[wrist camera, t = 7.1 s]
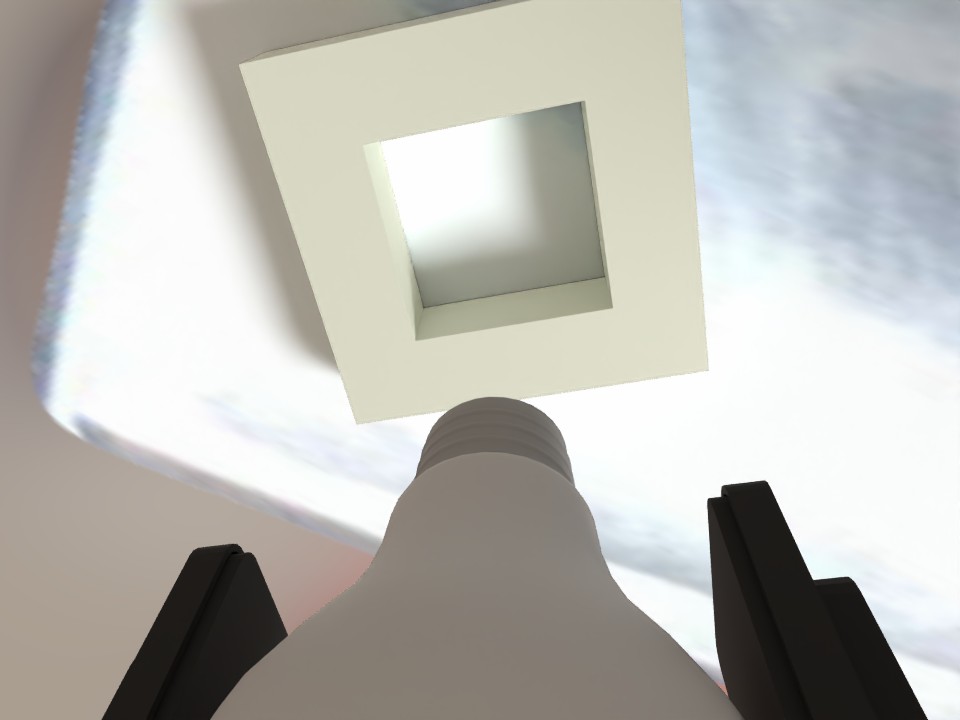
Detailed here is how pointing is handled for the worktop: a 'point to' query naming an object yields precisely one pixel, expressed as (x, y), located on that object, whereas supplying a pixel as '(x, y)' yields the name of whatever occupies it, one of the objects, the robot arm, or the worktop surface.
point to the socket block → (469, 99)
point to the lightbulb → (483, 603)
